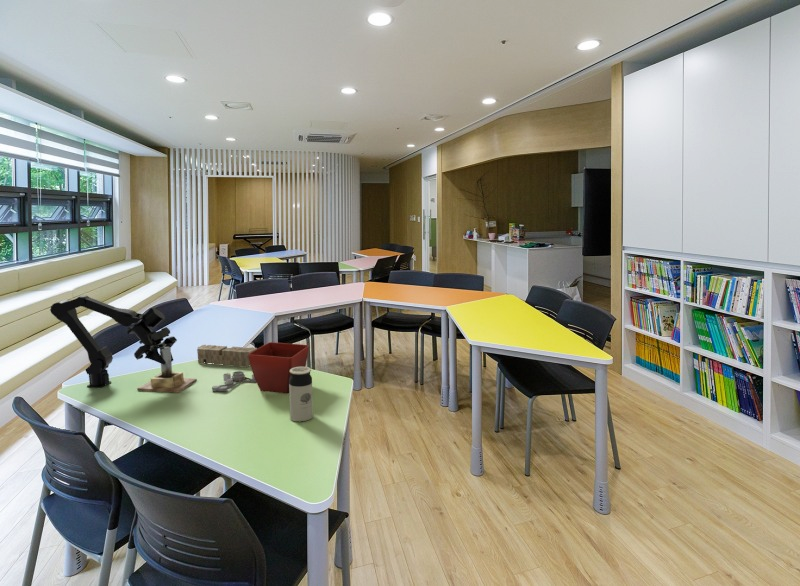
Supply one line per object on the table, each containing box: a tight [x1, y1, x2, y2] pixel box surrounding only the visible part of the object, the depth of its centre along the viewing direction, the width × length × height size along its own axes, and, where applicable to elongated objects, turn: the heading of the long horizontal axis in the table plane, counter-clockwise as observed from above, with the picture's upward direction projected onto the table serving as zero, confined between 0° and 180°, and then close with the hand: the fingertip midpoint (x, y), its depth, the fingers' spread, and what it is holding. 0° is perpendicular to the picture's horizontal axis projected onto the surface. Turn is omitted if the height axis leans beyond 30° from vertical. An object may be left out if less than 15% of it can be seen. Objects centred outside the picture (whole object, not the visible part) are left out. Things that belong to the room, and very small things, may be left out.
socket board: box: [136, 371, 198, 393], centre depth 199 cm, size 18×14×4 cm
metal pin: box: [159, 347, 173, 378], centre depth 198 cm, size 4×4×13 cm
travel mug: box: [289, 366, 314, 423], centre depth 168 cm, size 8×8×18 cm
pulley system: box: [211, 370, 257, 392], centre depth 204 cm, size 27×5×15 cm
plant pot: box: [248, 341, 310, 395], centre depth 197 cm, size 19×19×17 cm
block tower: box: [196, 344, 258, 368], centre depth 231 cm, size 8×8×29 cm
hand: (168, 362), depth 197 cm, fingers closed on metal pin, 4 cm apart
